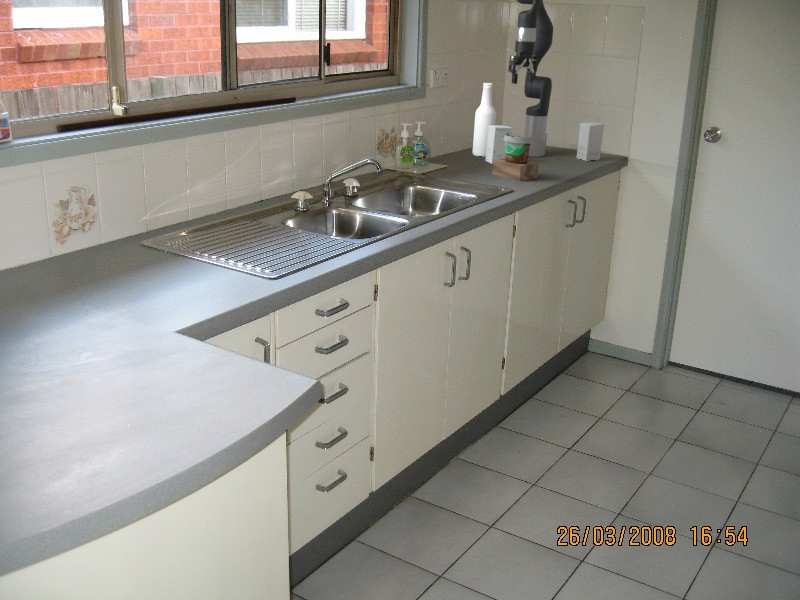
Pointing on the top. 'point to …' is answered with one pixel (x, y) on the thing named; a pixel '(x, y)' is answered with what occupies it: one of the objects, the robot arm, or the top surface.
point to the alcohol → (483, 121)
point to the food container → (516, 149)
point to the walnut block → (515, 170)
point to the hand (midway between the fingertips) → (521, 83)
